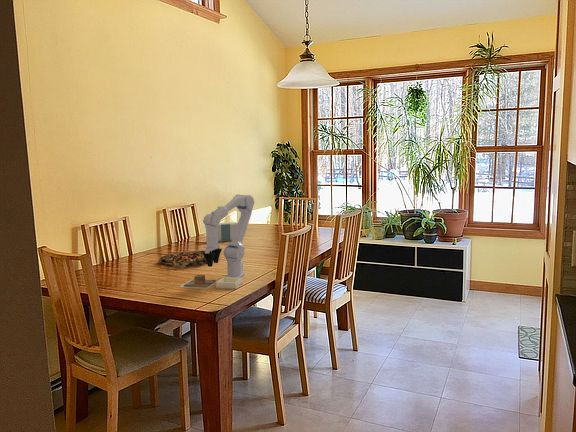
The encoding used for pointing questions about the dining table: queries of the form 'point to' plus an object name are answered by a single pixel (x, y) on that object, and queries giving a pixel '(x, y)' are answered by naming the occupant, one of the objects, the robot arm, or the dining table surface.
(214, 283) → the beige flat square piece
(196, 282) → the lid
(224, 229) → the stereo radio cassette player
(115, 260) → the dining table surface
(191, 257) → the food dish
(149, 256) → the dining table surface
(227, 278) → the white square tray
